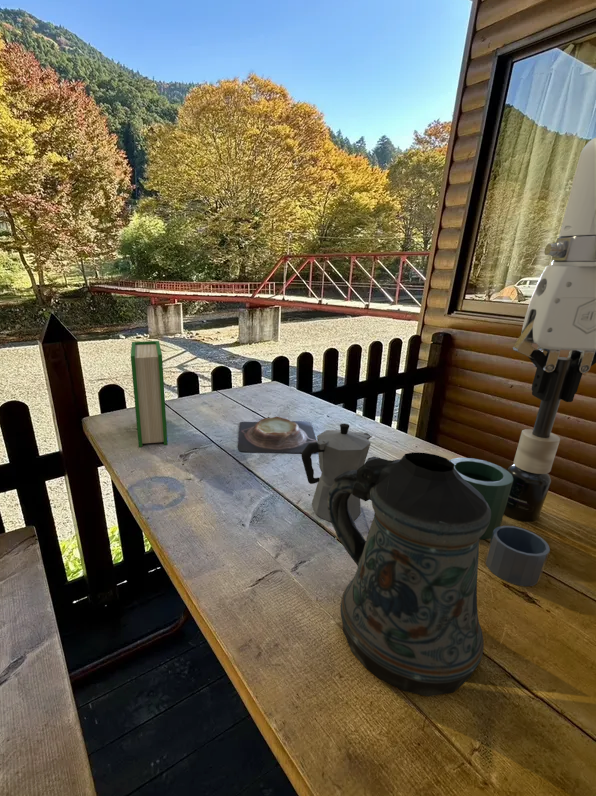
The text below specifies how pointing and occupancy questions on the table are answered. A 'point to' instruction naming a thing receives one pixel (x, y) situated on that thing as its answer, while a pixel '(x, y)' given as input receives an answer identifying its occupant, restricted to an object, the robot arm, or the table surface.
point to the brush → (543, 429)
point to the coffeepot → (335, 464)
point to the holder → (517, 555)
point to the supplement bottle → (526, 494)
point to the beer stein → (413, 571)
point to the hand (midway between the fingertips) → (551, 397)
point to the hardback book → (149, 392)
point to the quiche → (275, 435)
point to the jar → (487, 486)
